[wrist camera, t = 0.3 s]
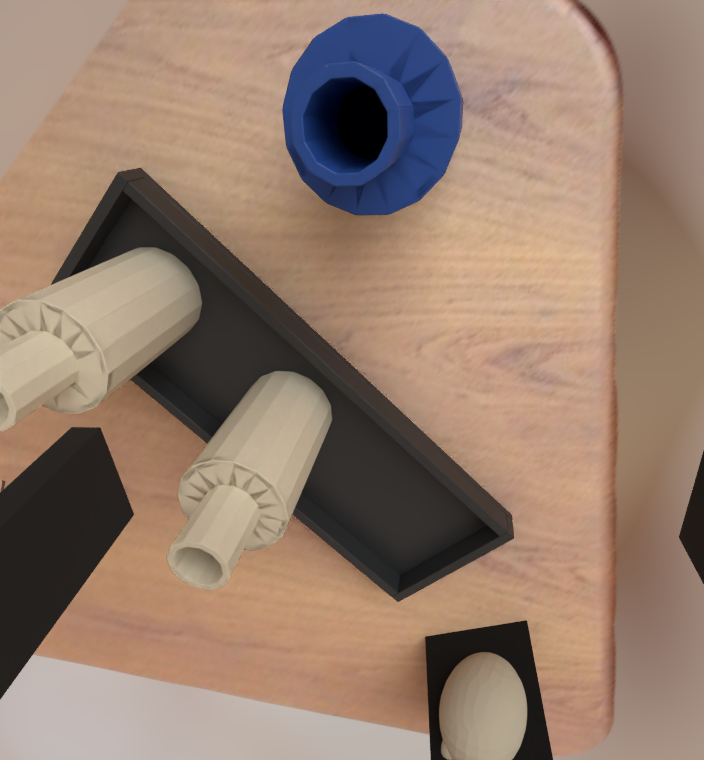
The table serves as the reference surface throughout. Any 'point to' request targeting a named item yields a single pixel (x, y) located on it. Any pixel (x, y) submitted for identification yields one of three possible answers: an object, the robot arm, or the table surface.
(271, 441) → the cream bottle mid
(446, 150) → the blue bottle
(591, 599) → the table surface
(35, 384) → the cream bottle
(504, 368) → the table surface
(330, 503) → the tray
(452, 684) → the decorative object
